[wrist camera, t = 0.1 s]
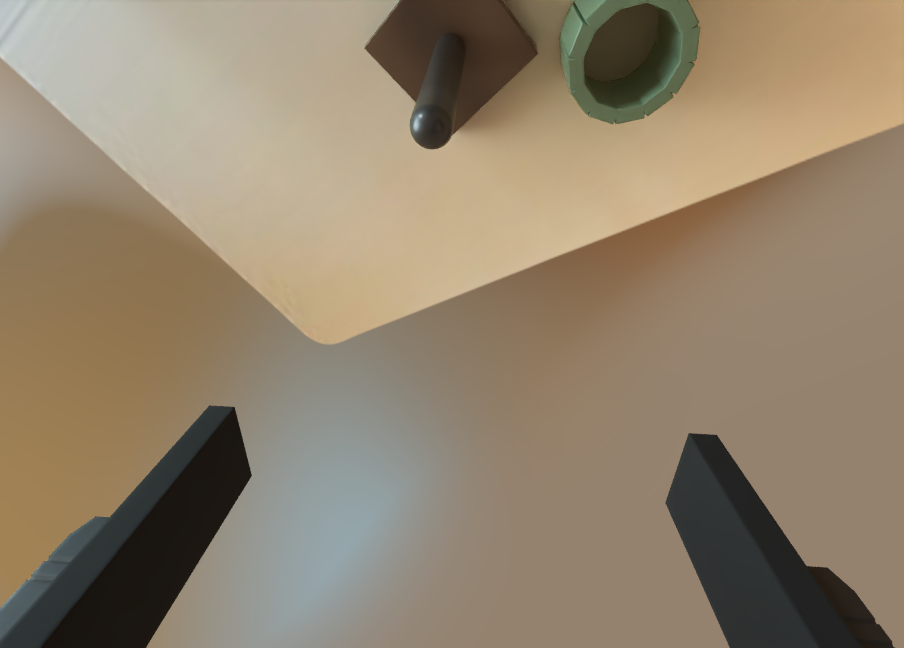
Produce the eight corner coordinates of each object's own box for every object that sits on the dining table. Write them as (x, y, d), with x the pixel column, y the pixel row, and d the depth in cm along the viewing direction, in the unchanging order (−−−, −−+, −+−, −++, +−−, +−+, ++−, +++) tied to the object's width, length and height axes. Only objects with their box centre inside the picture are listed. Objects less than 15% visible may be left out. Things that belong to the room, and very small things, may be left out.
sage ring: (639, -64, 25) (661, -53, 22) (692, 39, 29) (720, 63, 25) (538, 34, 29) (544, 57, 26) (596, 115, 32) (608, 145, 29)
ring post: (453, -68, 26) (425, -27, 16) (536, 47, 30) (558, 140, 20) (368, 41, 30) (303, 129, 20) (451, 129, 34) (432, 241, 24)
